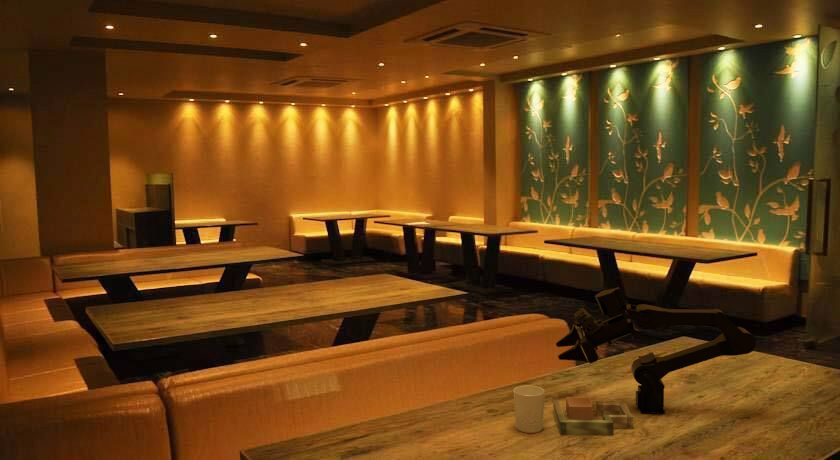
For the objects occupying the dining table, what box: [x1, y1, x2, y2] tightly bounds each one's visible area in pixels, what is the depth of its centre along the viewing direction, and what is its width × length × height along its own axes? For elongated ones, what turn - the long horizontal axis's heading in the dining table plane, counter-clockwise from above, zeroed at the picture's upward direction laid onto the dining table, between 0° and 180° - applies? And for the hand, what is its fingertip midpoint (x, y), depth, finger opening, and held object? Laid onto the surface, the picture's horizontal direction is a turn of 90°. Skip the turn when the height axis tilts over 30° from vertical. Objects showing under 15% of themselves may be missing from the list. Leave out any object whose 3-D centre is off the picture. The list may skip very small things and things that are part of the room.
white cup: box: [512, 385, 546, 434], centre depth 171 cm, size 8×8×10 cm
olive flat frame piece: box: [552, 400, 634, 436], centre depth 174 cm, size 19×16×3 cm
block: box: [565, 396, 594, 420], centre depth 179 cm, size 6×7×4 cm
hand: (557, 351), depth 185 cm, fingers open, 9 cm apart
